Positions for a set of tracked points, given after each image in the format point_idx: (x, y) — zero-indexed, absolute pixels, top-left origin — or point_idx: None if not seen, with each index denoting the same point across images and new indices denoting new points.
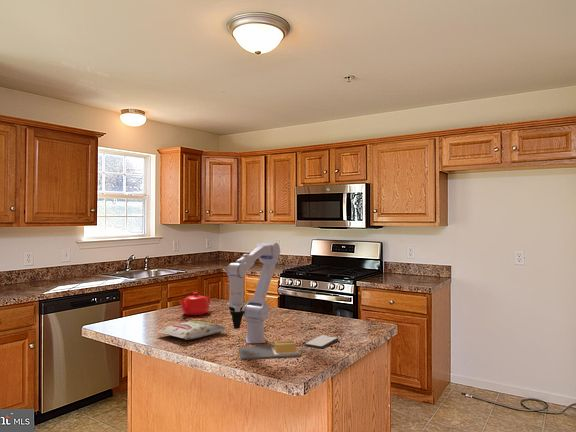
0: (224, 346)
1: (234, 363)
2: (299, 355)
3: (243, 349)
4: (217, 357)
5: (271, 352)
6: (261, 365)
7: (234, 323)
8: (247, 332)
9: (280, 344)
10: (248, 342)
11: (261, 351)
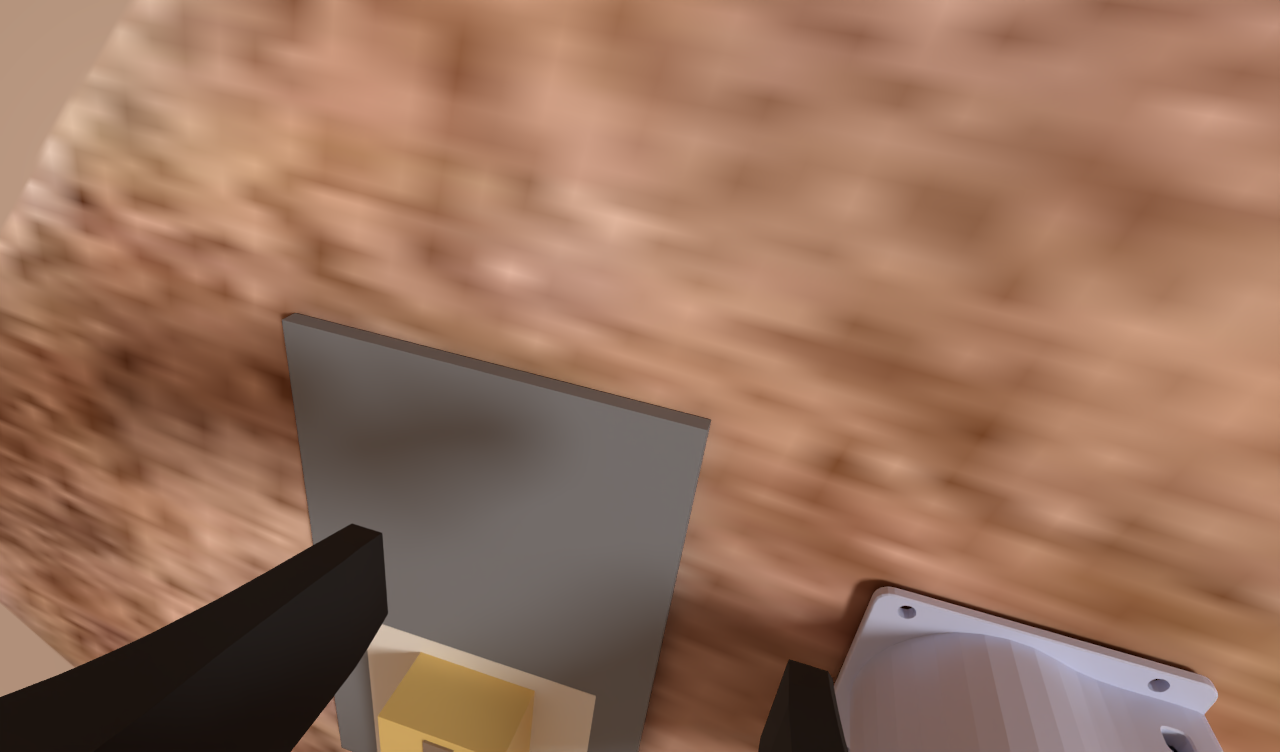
0: (926, 276)
1: (183, 211)
2: (344, 736)
3: (591, 450)
4: (401, 44)
5: (427, 626)
6: (148, 425)
7: (241, 610)
8: (1016, 740)
9: (380, 746)
10: (882, 608)
11: (472, 573)
